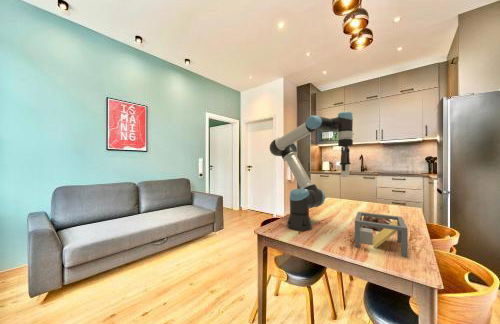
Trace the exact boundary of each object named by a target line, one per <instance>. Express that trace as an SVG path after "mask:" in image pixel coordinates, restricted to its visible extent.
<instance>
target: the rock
mask: <svg viewBox="0 0 500 324" xmlns="http://www.w3.org/2000/svg"><path fill="white" fill-rule="evenodd" d="M362 221H367V222H375V223H382V224H390V223H391V222H392V219H384V218H376V217H368V216H362ZM362 227H364V228H368V229H373V230H377V231H379V232H380V231H382V230H383V229H384V228H379V227H372V226H365V225H362Z"/></svg>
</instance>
